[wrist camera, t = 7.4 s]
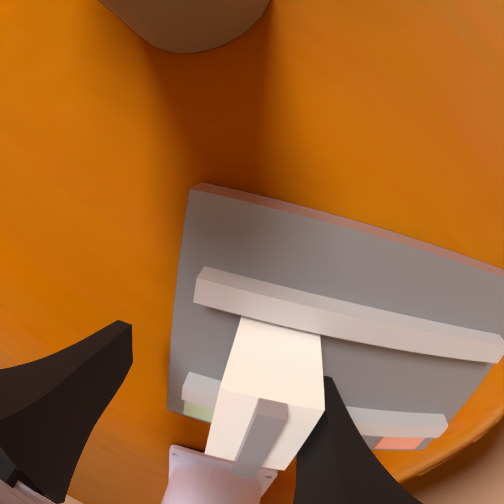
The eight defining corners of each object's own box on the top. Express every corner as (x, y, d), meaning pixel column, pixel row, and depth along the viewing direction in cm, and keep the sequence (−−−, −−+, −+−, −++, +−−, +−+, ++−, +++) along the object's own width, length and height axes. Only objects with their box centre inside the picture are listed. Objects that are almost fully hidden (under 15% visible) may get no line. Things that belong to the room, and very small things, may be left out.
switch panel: (418, 433, 16) (425, 461, 13) (174, 391, 16) (160, 422, 14) (520, 276, 11) (546, 299, 9) (201, 182, 12) (179, 194, 9)
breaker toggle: (290, 397, 13) (283, 483, 9) (225, 382, 13) (200, 466, 9) (319, 330, 11) (325, 426, 7) (242, 311, 12) (214, 403, 7)
